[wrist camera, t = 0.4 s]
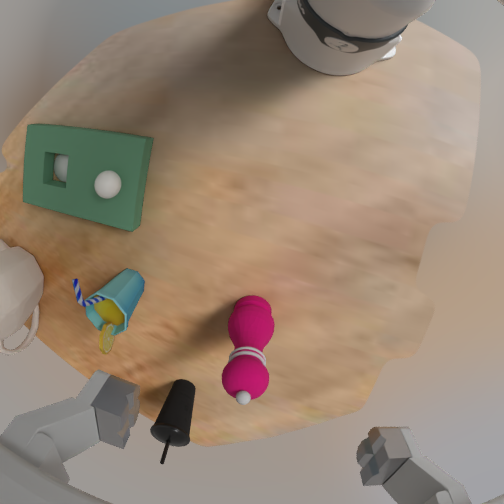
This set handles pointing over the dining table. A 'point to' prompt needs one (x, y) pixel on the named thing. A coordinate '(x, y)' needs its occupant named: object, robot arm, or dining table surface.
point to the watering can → (18, 294)
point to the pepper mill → (248, 349)
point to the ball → (107, 184)
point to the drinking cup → (175, 417)
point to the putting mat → (86, 172)
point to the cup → (112, 305)
